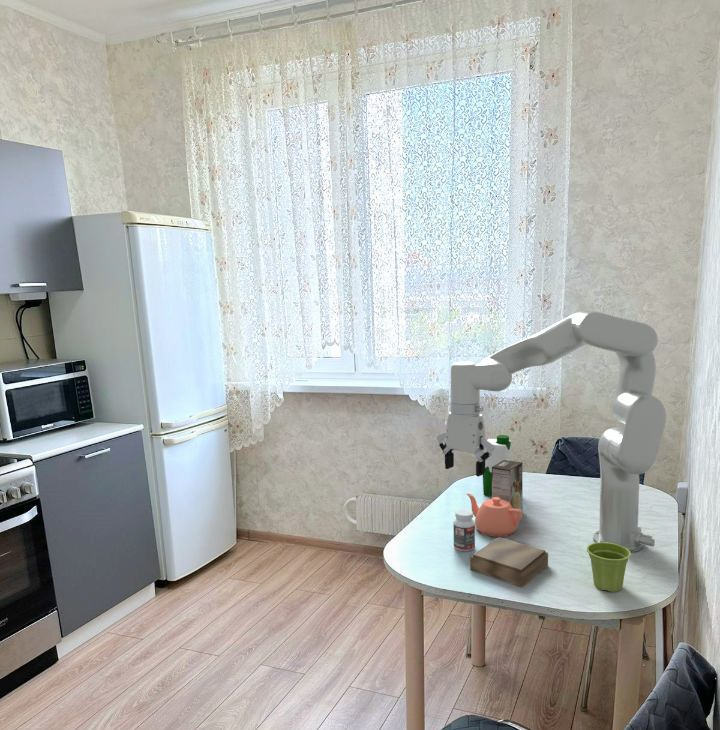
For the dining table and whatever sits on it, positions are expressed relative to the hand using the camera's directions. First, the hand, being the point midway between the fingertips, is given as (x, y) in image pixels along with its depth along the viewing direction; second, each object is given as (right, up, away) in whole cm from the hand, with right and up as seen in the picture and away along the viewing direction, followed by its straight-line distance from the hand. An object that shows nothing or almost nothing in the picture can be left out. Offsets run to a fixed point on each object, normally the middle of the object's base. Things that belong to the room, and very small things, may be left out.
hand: (464, 471), depth 157 cm
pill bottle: (0, -21, +2) cm, 21 cm away
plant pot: (+30, -23, -20) cm, 43 cm away
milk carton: (+19, -15, +43) cm, 50 cm away
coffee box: (+18, -18, +24) cm, 35 cm away
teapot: (+11, -20, +14) cm, 26 cm away
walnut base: (+9, -22, -10) cm, 26 cm away
